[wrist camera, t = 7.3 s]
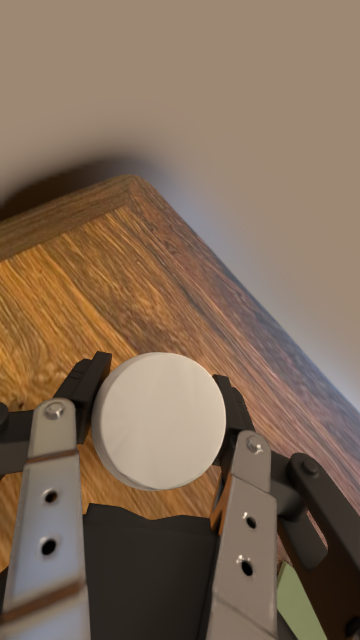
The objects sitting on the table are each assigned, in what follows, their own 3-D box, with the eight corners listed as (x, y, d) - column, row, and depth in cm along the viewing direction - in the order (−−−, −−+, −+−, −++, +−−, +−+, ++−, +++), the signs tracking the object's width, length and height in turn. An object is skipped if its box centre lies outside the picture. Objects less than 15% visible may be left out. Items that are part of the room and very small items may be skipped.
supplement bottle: (91, 438, 15) (30, 476, 6) (129, 361, 17) (126, 307, 8) (168, 473, 15) (218, 558, 6) (197, 392, 17) (265, 370, 8)
